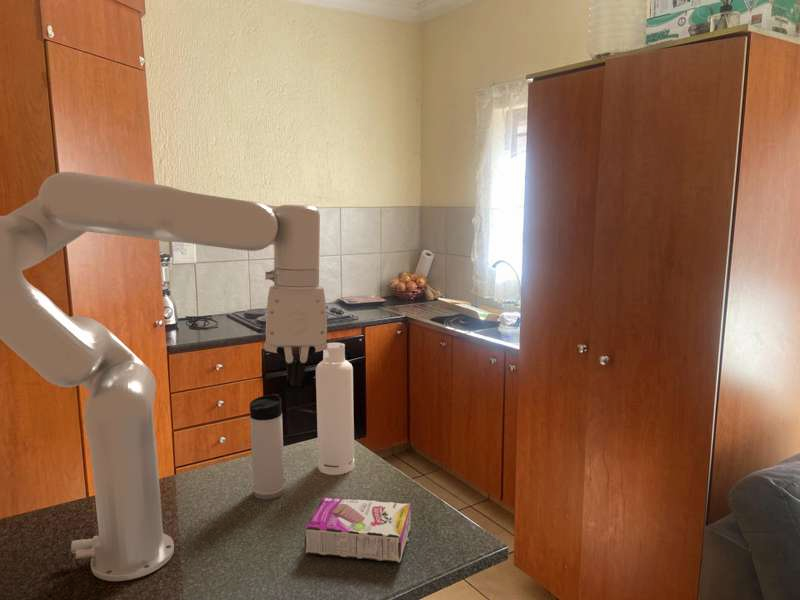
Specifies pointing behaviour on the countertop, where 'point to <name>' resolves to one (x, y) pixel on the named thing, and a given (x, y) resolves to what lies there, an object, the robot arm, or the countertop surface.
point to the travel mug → (267, 447)
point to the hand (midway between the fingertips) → (295, 383)
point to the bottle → (335, 411)
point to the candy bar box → (359, 529)
